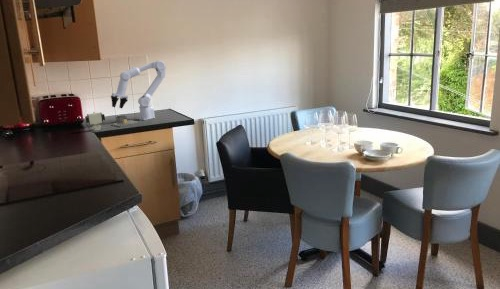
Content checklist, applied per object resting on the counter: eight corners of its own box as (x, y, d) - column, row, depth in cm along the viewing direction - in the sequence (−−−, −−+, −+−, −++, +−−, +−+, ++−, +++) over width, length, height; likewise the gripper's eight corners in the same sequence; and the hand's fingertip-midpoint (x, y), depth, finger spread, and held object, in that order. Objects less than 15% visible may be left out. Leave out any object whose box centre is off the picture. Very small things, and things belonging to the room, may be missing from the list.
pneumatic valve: (106, 129, 268) (103, 111, 265) (88, 132, 264) (84, 113, 261) (105, 127, 273) (102, 110, 270) (87, 130, 268) (84, 112, 265)
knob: (123, 121, 294) (122, 113, 293) (127, 121, 290) (126, 114, 289) (116, 122, 290) (115, 115, 289) (120, 123, 286) (119, 115, 285)
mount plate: (129, 121, 290) (129, 116, 289) (138, 122, 282) (137, 117, 281) (111, 125, 281) (110, 120, 280) (120, 126, 272) (119, 121, 272)
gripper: (124, 88, 292) (119, 107, 293) (110, 85, 279) (105, 104, 280) (131, 91, 290) (127, 109, 291) (118, 88, 276) (113, 107, 277)
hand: (117, 107), depth 285 cm, fingers open, 7 cm apart
